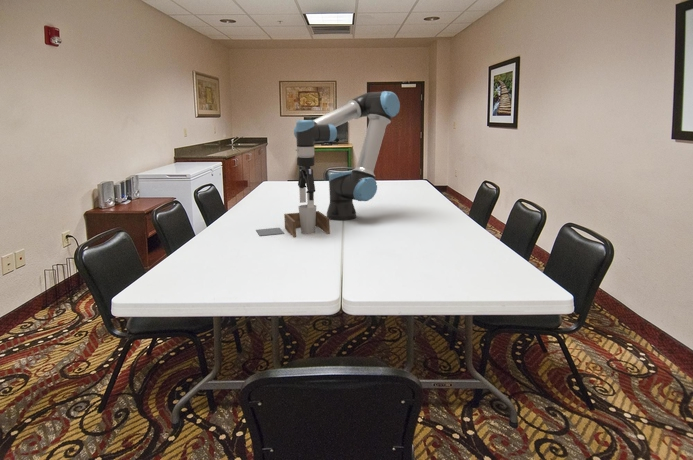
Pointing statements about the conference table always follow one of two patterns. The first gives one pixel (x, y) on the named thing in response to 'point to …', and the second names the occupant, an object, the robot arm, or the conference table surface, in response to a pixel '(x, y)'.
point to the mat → (269, 231)
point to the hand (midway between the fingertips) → (306, 205)
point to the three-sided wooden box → (294, 222)
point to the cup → (307, 219)
